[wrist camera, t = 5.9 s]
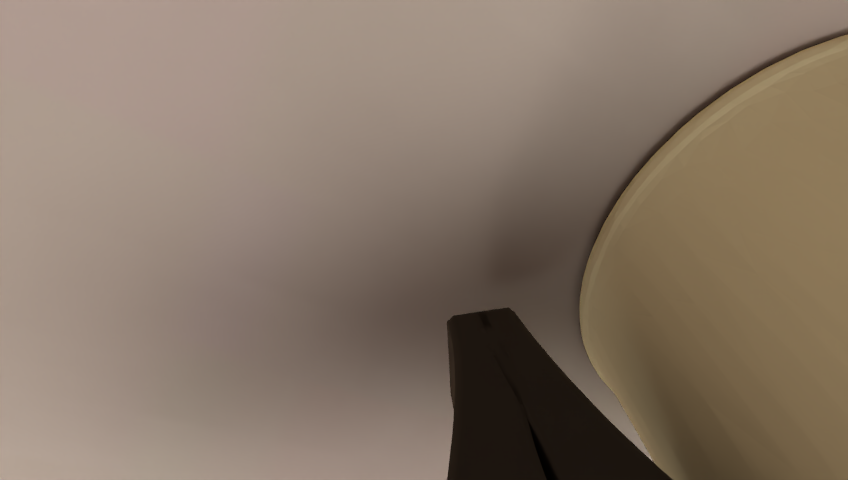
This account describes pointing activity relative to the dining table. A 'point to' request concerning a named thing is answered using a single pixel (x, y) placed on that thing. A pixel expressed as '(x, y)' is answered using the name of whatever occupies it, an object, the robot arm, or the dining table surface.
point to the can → (735, 283)
